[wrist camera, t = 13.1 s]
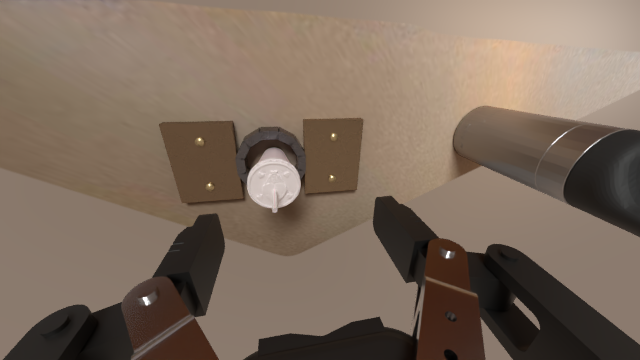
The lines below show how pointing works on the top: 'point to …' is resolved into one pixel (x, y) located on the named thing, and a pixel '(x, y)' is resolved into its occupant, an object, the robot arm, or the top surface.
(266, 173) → the smoothie
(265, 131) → the hinge base
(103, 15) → the top surface
